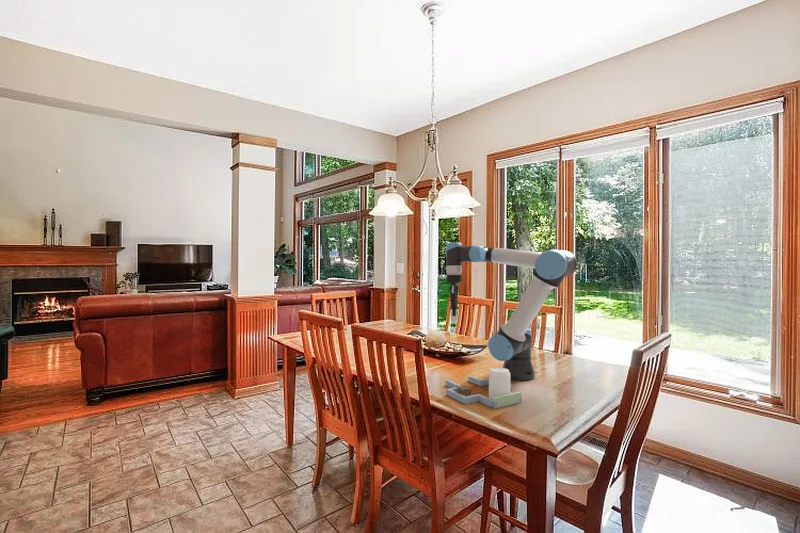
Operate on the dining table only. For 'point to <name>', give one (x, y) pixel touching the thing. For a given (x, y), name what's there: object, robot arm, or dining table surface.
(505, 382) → the beverage can
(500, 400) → the end wall
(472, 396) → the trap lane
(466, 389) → the walnut cube
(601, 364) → the dining table surface
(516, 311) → the robot arm
